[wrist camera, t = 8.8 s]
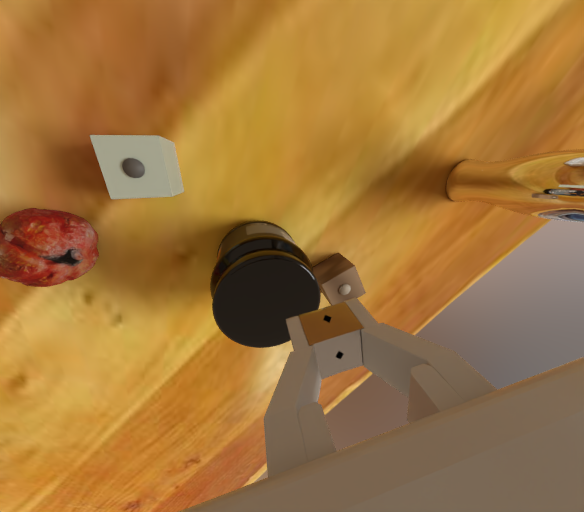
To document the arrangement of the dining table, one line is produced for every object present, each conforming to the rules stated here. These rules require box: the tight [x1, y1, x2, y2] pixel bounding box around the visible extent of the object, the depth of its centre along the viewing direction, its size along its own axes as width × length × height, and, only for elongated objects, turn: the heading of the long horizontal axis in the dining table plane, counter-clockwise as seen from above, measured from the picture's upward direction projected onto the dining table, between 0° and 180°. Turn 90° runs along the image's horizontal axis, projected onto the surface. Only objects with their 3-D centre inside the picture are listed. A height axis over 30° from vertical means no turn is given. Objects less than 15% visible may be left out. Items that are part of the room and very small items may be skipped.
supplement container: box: [210, 221, 320, 348], centre depth 24 cm, size 10×10×12 cm
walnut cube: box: [312, 253, 366, 306], centre depth 31 cm, size 5×5×5 cm
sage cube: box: [90, 135, 184, 199], centre depth 21 cm, size 5×5×5 cm
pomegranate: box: [0, 208, 99, 287], centre depth 20 cm, size 7×7×10 cm
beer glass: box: [446, 149, 584, 222], centre depth 26 cm, size 7×7×15 cm
